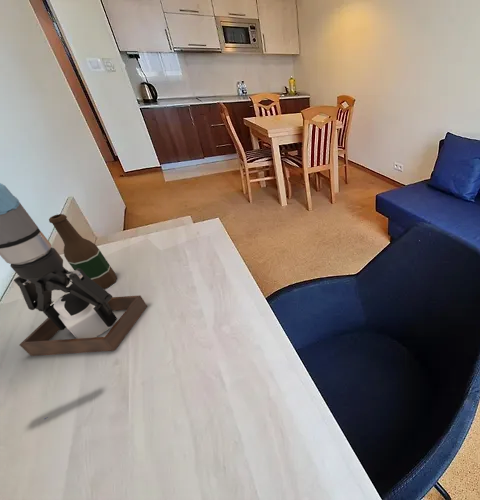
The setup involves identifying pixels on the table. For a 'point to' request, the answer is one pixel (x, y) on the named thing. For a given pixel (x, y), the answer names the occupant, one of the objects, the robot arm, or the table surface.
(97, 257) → the beer bottle
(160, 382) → the table surface
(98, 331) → the medicine bottle
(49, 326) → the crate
